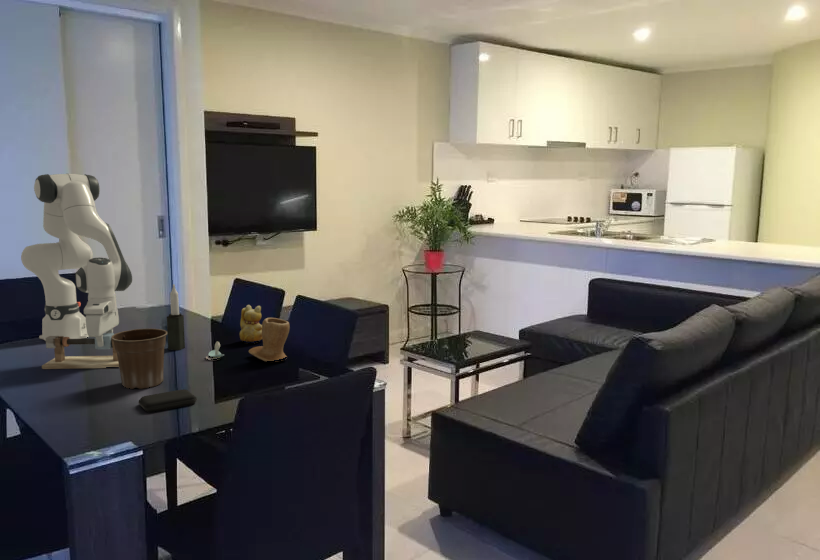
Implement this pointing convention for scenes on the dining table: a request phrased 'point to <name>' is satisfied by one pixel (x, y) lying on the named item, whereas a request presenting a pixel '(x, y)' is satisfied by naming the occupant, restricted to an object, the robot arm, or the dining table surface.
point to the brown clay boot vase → (272, 340)
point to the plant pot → (140, 357)
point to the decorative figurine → (251, 324)
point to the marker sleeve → (105, 341)
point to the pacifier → (215, 352)
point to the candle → (175, 324)
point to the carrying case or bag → (167, 400)
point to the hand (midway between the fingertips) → (105, 343)
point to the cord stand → (76, 361)
